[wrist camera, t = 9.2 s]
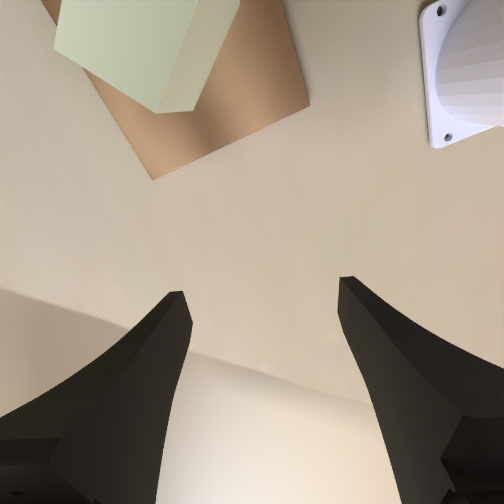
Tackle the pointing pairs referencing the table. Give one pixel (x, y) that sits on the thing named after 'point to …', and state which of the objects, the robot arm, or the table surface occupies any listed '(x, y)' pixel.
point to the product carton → (147, 45)
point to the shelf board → (217, 93)
